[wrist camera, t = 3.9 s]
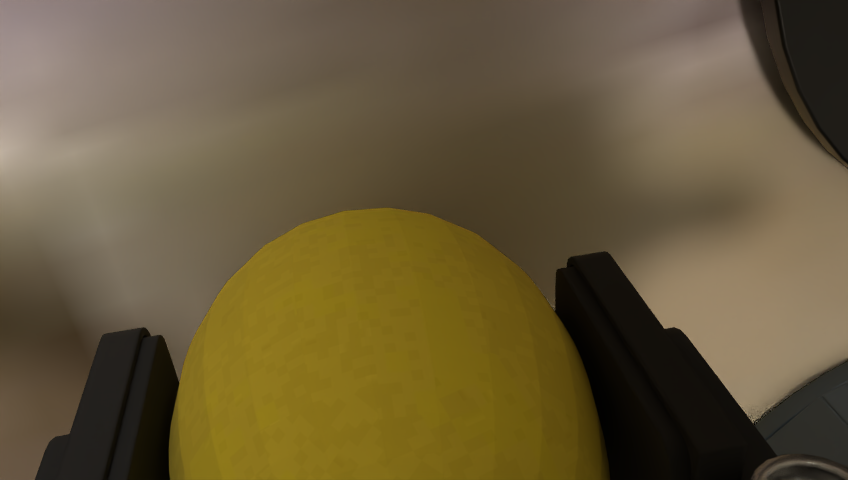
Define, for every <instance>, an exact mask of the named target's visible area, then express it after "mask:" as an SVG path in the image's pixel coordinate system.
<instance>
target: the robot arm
mask: <svg viewBox="0 0 848 480" xmlns="http://www.w3.org/2000/svg"><path fill="white" fill-rule="evenodd" d="M555 313H556V314H557V316H558V317H559V319H560V320H561V321H562V323H563V324H564V326H565V328H566V329H567V331H568V333H569V334H570V336H571V338H572V339H573V341H574V343H575V345H576V348H577V350H578V352H579V354H580V356H581V359H582V361H583V364H584V367H585V370H586V373H587V376H588V379H589V382H590V386H591V390H592V393H593V397H594V401H595V404H596V408H597V412H598V416H599V420H600V424H601V427H602V431H603V435H604V439H605V445H606V451H607V457H608V462H609V472H610V480H848V467H847V466H845V465H843V464H840V463H837V462H835V461H832V460H829V459H827V458H824V457H819V456H813V455H808V454H784V455H780V456H777V455H776V453H775V452H774V451H773V449H772V448H771V447H770V445H769V444H768V443H767V441H766V440H765V439H764V437H763V436H762V435H761V434H760V432H759V431H758V430H757V428H756V427H755V426H754V424H753V423H752V422H751V420H750V419H749V418H748V416H747V415H746V414H745V412H744V411H743V410H742V408H741V407H740V406H739V405H738V403H737V402H736V401H735V399H734V398H733V397H732V395H731V394H730V393H729V391H728V390H727V389H726V387H725V386H724V385H723V383H722V382H721V381H720V379H719V378H718V377H717V376H716V374H715V373H714V372H713V370H712V369H711V368H710V366H709V365H708V364H707V362H706V361H705V360H704V358H703V357H702V356H701V354H700V353H699V352H698V351H697V349H696V348H695V347H694V345H693V344H692V343H691V341H690V340H689V339H688V337H687V336H686V335H685V334H684V333H683V332H682V331H681V330H680V329H677V328H675V327H673V328H668V329H664V328H663V326H662V325H661V324H660V322H659V321H658V320H657V318H656V317H655V315H654V314H653V313H652V311H651V310H650V309H649V307H648V306H647V304H646V303H645V302H644V300H643V299H642V298H641V296H640V295H639V293H638V292H637V291H636V289H635V288H634V287H633V285H632V284H631V282H630V281H629V280H628V278H627V277H626V276H625V274H624V273H623V271H622V270H621V269H620V267H619V266H618V265H617V263H616V262H615V260H614V259H613V258H612V256H611V255H610V254H609V253H608V252H605V251H604V252H598V253H592V254H585V255H579V256H573V257H570V258H569V259H568V261H567V266H566V268H560V269H558V270H557V271H556V286H555ZM178 388H179V381H178V378H177V375H176V372H175V369H174V366H173V363H172V359H171V356H170V353H169V350H168V347H167V344H166V342H165V339H164V338H163V336H162V335H157V336H151V335H150V333H149V331H148V330H147V329H146V328H144V327H143V328H137V329H131V330H125V331H119V332H113V333H107V334H104V335H102V337H101V339H100V342H99V345H98V348H97V351H96V354H95V357H94V360H93V363H92V366H91V370H90V373H89V376H88V379H87V382H86V385H85V388H84V391H83V394H82V397H81V400H80V403H79V407H78V410H77V413H76V416H75V419H74V422H73V425H72V428H71V431H70V434H68V435H63V436H57V437H55V438H53V439H52V440H51V441H50V442H49V444H48V446H47V448H46V450H45V453H44V456H43V458H42V461H41V464H40V467H39V470H38V473H37V475H36V478H35V480H170V475H169V439H170V427H171V421H172V416H173V411H174V406H175V402H176V397H177V392H178Z"/></svg>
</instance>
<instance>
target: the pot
mask: <svg viewBox="0 0 848 480" xmlns="http://www.w3.org/2000/svg"><path fill="white" fill-rule="evenodd" d="M755 427H756V428H757V430H758V431H759V432H760V434H761V435H762V436H763V437H764V439H765V440H766V441H767V443H768V444H769V445H770V447H771V448H772V449H773V451H774V452H775V453H776V455H777V456H780V455H784V454H808V455H813V456H819V457H824V458H827V459H829V460H832V461H835V462H837V463H840V464H843V465H845V466H847V467H848V361H847V362H845V363H843V364H842V365H840V366H838V367H836V368H834V369H832V370H830V371H829V372H827V373H825V374H823V375H822V376H820V377H819V378H817V379H816V380H814V381H813V382H811V383H809V384H808V385H806V386H805V387H803V388H802V389H800V390H799V391H797V392H796V393H794V394H793V395H791V396H790V397H789V398H788V399H786V400H785V401H784V402H782V403H781V404H780V405H778V406H777V407H776V408H775V409H773V410H772V411H771V412H769V413H768V414H767V415H766V416H764V417H763V418H762V419H761V420H760V421H759V422H758V423H757V424H756V425H755Z"/></svg>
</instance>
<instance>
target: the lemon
mask: <svg viewBox="0 0 848 480" xmlns="http://www.w3.org/2000/svg"><path fill="white" fill-rule="evenodd" d="M169 475H170V480H610V472H609V462H608V457H607V451H606V445H605V439H604V435H603V431H602V427H601V424H600V420H599V416H598V412H597V408H596V404H595V401H594V397H593V393H592V390H591V386H590V382H589V379H588V376H587V373H586V370H585V367H584V364H583V361H582V359H581V356H580V354H579V352H578V350H577V348H576V345H575V343H574V341H573V339H572V338H571V336H570V334H569V333H568V331H567V329H566V328H565V326H564V324H563V323H562V321H561V320H560V319H559V317H558V316H557V314H556V313H555V311H554V310H553V309H552V307H551V306H550V304H549V303H548V301H547V300H546V299H545V297H544V296H543V294H542V293H541V291H540V290H539V289H538V287H537V286H536V285H535V284H534V282H533V281H532V280H531V278H530V277H529V276H528V275H527V274H526V273H525V272H524V271H523V270H522V269H521V268H520V267H519V266H518V265H516V264H515V263H514V262H513V261H511V260H510V259H509V258H507V257H506V256H505V255H504V254H502V253H501V252H500V251H498V250H497V249H496V248H495V247H493V246H492V245H491V244H490V243H488V242H487V241H486V240H484V239H483V238H482V237H480V236H479V235H477V234H476V233H474V232H472V231H469V230H467V229H464V228H462V227H460V226H457V225H455V224H452V223H450V222H448V221H445V220H443V219H440V218H438V217H436V216H433V215H431V214H428V213H421V212H414V211H407V210H401V209H394V208H375V209H362V210H349V211H342V212H339V213H335V214H332V215H329V216H325V217H322V218H319V219H316V220H312V221H309V222H306V223H302V224H301V225H299V226H297V227H295V228H294V229H292V230H290V231H289V232H287V233H285V234H283V235H282V236H280V237H278V238H277V239H275V240H273V241H271V242H270V243H268V244H266V245H265V246H264V247H263V248H261V249H260V250H259V251H258V252H257V253H256V254H255V255H254V256H253V257H252V258H251V259H250V260H249V261H248V262H247V263H246V264H245V265H244V266H243V267H242V268H241V269H240V270H239V271H238V272H236V273H235V274H234V275H233V276H232V277H231V278H230V279H229V280H228V281H227V282H226V284H225V285H224V287H223V288H222V289H221V291H220V292H219V294H218V296H217V297H216V299H215V301H214V302H213V304H212V306H211V307H210V309H209V311H208V313H207V314H206V316H205V318H204V319H203V321H202V323H201V325H200V326H199V328H198V330H197V332H196V334H195V336H194V338H193V340H192V342H191V344H190V346H189V349H188V352H187V355H186V358H185V361H184V364H183V369H182V374H181V378H180V383H179V388H178V392H177V397H176V402H175V406H174V411H173V416H172V421H171V427H170V439H169Z"/></svg>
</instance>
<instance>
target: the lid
mask: <svg viewBox="0 0 848 480" xmlns="http://www.w3.org/2000/svg"><path fill="white" fill-rule="evenodd" d="M761 6H762V11H763V17H764V22H765V28H766V33H767V38H768V41H769V44H770V47H771V50H772V53H773V56H774V59H775V62H776V65H777V68H778V71H779V73H780V76H781V79H782V82H783V84H784V86H785V88H786V90H787V92H788V94H789V96H790V97H791V99H792V101H793V103H794V105H795V107H796V109H797V110H798V112H799V114H800V116H801V118H802V120H803V121H804V122H805V124H806V125H807V126H808V127H809V129H810V130H811V131H812V132H813V134H814V135H815V136H816V137H817V139H818V140H819V141H820V142H821V144H822V145H823V146H824V147H825V149H826V150H827V151H828V152H829V153H831V154H832V155H833V156H834V157H835V158H836V159H838V160H839V161H840V162H841V163H842V164H843V165H845V166H846V167H847V168H848V0H761Z"/></svg>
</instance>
